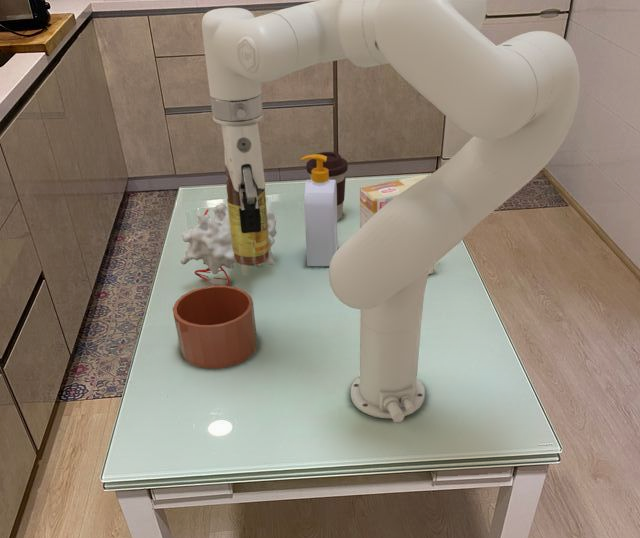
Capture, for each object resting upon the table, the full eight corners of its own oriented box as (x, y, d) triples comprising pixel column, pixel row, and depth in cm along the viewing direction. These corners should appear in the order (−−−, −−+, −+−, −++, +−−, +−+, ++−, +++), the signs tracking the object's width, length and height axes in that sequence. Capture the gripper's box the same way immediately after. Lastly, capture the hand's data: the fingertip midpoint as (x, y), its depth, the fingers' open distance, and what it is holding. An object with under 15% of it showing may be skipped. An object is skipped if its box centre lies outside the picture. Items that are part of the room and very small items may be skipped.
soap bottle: (307, 248, 157) (303, 148, 142) (337, 248, 156) (336, 148, 141) (303, 267, 150) (298, 163, 135) (334, 267, 149) (332, 163, 134)
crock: (263, 361, 123) (258, 319, 117) (184, 374, 121) (176, 332, 115) (250, 320, 134) (246, 280, 128) (178, 332, 132) (170, 291, 126)
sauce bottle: (264, 269, 112) (253, 148, 99) (228, 265, 113) (213, 145, 100) (274, 250, 117) (265, 133, 104) (240, 248, 118) (227, 131, 105)
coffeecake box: (419, 259, 151) (425, 173, 138) (434, 274, 146) (442, 185, 133) (358, 273, 147) (358, 185, 134) (371, 288, 142) (373, 198, 129)
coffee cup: (303, 211, 172) (301, 152, 162) (340, 206, 174) (339, 146, 164) (315, 227, 165) (312, 166, 155) (353, 221, 167) (353, 160, 157)
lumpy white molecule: (199, 296, 156) (169, 286, 132) (194, 214, 154) (162, 189, 129) (284, 291, 155) (269, 281, 130) (280, 209, 153) (264, 183, 128)
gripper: (271, 123, 93) (279, 242, 105) (253, 88, 106) (262, 199, 118) (218, 128, 92) (232, 248, 104) (206, 92, 105) (219, 203, 117)
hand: (248, 221), depth 111 cm, fingers closed on sauce bottle, 6 cm apart
